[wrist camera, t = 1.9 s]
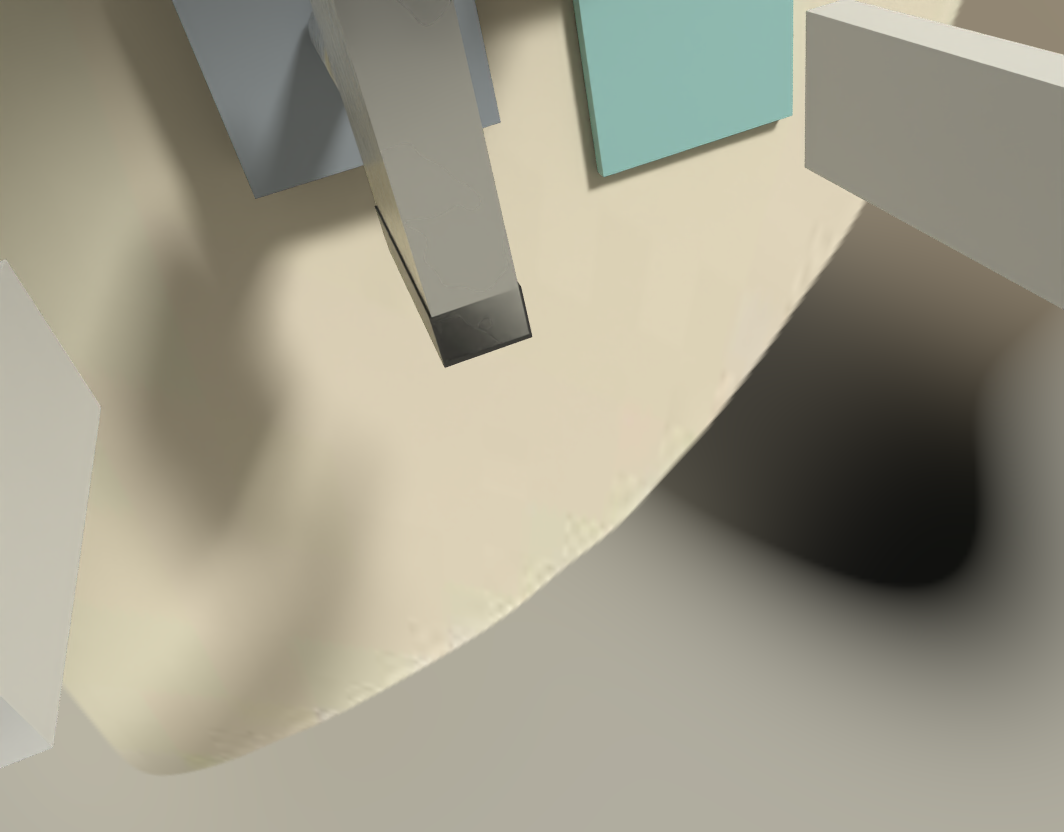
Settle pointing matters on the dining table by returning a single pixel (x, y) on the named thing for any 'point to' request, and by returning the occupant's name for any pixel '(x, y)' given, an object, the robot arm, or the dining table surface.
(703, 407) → the dining table surface
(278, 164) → the block
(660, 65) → the coaster
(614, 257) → the dining table surface
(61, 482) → the robot arm
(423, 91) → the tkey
